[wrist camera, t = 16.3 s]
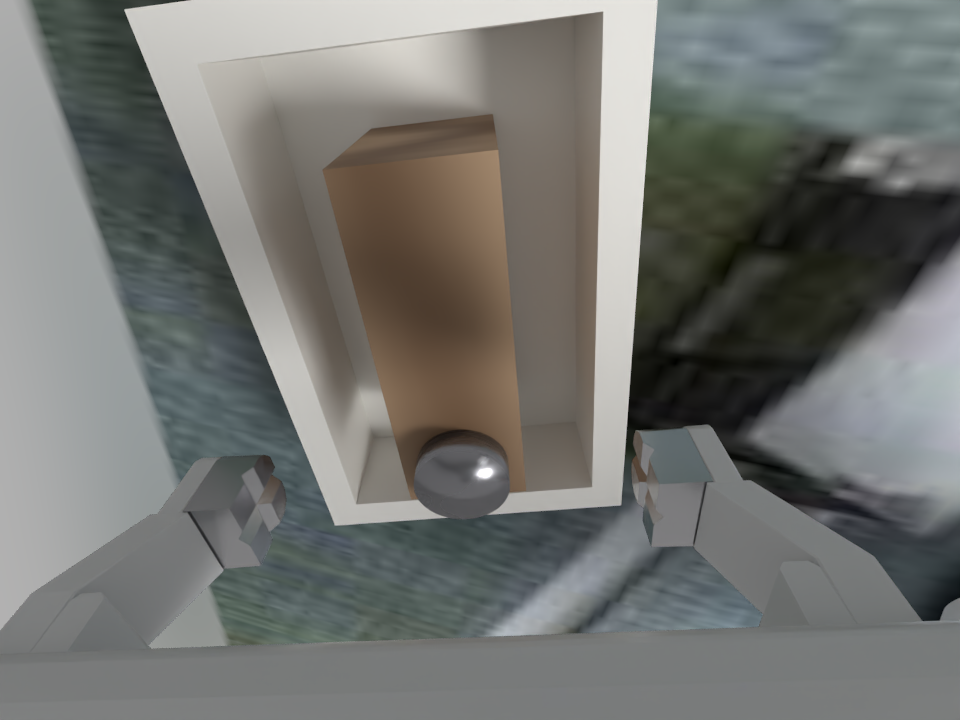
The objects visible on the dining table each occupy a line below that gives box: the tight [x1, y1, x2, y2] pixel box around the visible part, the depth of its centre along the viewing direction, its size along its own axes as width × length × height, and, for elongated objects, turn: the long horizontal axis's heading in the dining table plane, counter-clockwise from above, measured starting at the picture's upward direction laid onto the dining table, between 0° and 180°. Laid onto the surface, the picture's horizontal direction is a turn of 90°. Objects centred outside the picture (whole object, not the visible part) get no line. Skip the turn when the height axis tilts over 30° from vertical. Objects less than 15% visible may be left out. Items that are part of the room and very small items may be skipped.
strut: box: [322, 114, 526, 519], centre depth 16 cm, size 4×11×7 cm, turn 6°
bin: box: [124, 0, 657, 526], centre depth 18 cm, size 18×12×5 cm, turn 6°
